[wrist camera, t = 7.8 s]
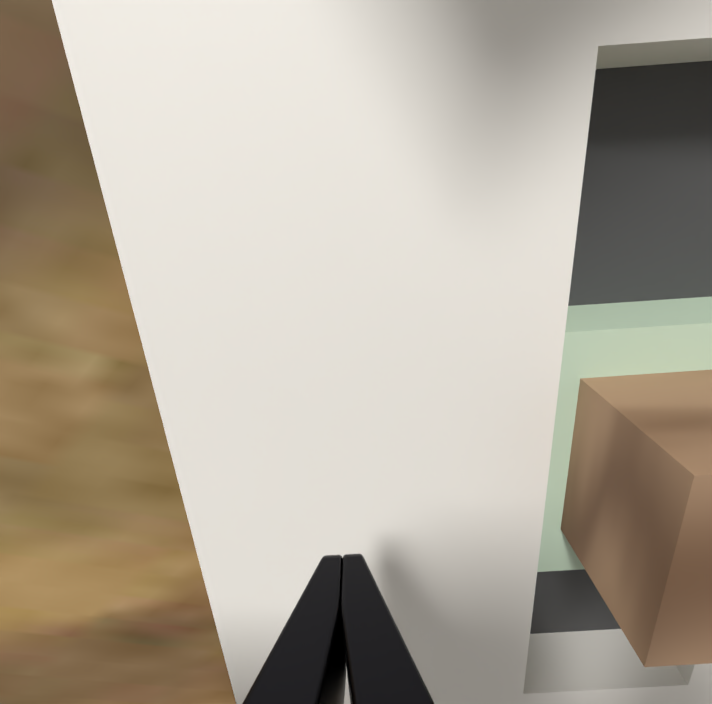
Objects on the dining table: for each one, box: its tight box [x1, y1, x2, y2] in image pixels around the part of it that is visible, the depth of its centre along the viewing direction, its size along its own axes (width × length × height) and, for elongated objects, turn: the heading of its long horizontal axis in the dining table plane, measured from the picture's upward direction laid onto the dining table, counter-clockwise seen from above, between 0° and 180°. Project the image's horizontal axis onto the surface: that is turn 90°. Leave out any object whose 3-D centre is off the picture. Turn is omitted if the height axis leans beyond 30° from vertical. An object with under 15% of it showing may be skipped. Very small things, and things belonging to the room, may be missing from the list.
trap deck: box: [52, 0, 712, 704], centre depth 13 cm, size 23×18×2 cm
